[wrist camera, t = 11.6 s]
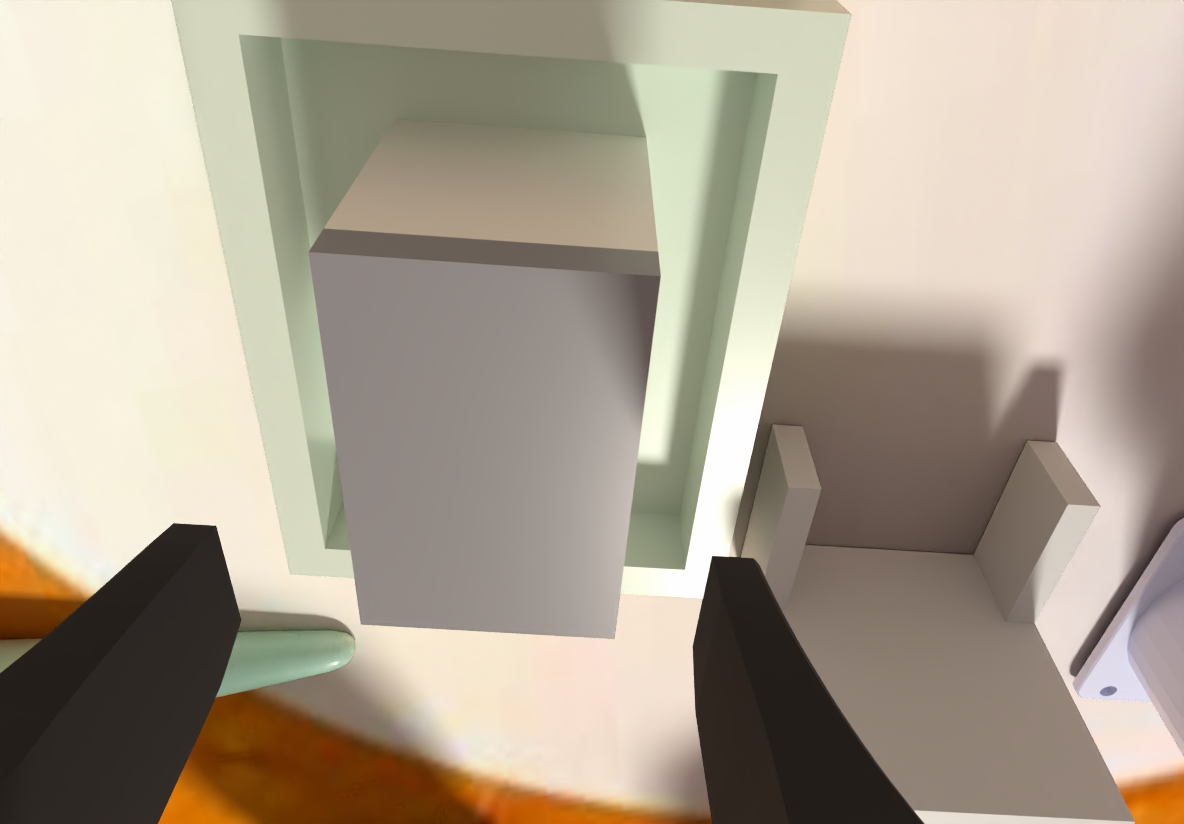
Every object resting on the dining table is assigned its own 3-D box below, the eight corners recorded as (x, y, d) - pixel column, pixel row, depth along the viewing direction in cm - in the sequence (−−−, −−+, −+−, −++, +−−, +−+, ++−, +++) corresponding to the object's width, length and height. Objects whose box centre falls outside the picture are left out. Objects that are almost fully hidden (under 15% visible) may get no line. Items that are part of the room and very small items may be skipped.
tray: (815, -20, 16) (851, 14, 14) (707, 519, 24) (718, 599, 22) (231, -65, 16) (163, -38, 14) (321, 495, 24) (290, 574, 22)
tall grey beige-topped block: (646, 136, 17) (660, 276, 12) (613, 449, 22) (614, 639, 17) (394, 119, 17) (308, 252, 12) (416, 436, 22) (361, 624, 17)
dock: (1056, 442, 23) (1235, 703, 16) (988, 579, 26) (1115, 844, 19) (772, 424, 22) (838, 681, 16) (738, 565, 26) (782, 827, 19)
